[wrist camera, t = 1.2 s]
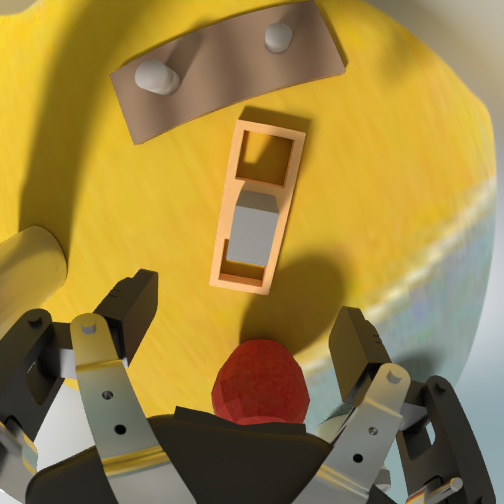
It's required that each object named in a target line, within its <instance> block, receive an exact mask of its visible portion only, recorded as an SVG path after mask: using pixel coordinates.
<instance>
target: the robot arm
mask: <svg viewBox="0 0 504 504" xmlns="http://www.w3.org/2000/svg"><path fill="white" fill-rule="evenodd" d="M66 276H67V266H66V260H65V257H64V254H63V251H62V249H61V247H60V245H59V243H58V242H57V240H56V239H55V238H54V236H53V235H52V234H51V233H50V232H49V231H47V230H46V229H44V228H43V227H40V226H31V227H28V228H26V229H25V230H23V231H21V232H19V233H18V234H16V235H14V236H12V237H10V238H9V239H7V240H5V241H4V242H2V243H1V244H0V491H2V492H6V493H7V494H9V495H10V496H12V497H13V498H15V499H16V500H18V501H19V502H21V503H23V504H397V503H395V502H394V501H393V500H392V499H391V498H390V497H388V496H387V495H386V494H385V493H384V492H383V491H381V490H380V489H379V488H378V487H377V486H376V485H375V484H373V483H374V481H375V479H376V477H377V475H378V473H379V471H380V469H381V467H382V465H383V463H384V461H385V459H386V457H387V454H388V452H389V450H390V448H391V445H392V443H393V441H394V439H395V437H396V441H397V445H398V449H399V454H400V458H401V462H402V467H403V471H404V476H405V481H406V486H407V492H408V499H407V500H406V503H405V504H496V498H495V494H494V490H493V487H492V484H491V481H490V477H489V474H488V471H487V468H486V465H485V462H484V460H483V457H482V454H481V451H480V449H479V446H478V444H477V441H476V439H475V436H474V434H473V431H472V429H471V426H470V424H469V422H468V419H467V417H466V415H465V413H464V411H463V408H462V406H461V404H460V402H459V400H458V398H457V396H456V393H455V392H454V389H453V387H452V386H451V384H450V383H449V382H448V381H447V380H446V379H445V378H443V377H441V376H436V375H434V376H431V377H429V378H428V380H427V381H426V382H425V384H423V383H419V382H416V381H412V380H410V376H409V374H408V373H407V371H406V370H405V369H404V368H402V367H401V366H399V365H397V364H393V363H392V362H391V360H390V358H389V355H388V353H387V351H386V349H385V347H384V345H383V344H382V341H381V339H380V337H379V334H378V332H377V330H376V328H375V327H374V326H373V325H372V324H371V323H370V322H369V321H368V320H365V318H364V316H363V314H362V312H361V310H360V309H359V308H353V307H346V306H343V307H342V308H341V310H340V312H339V314H338V317H337V319H336V321H335V324H334V326H333V328H332V331H331V333H330V336H329V349H330V353H331V357H332V361H333V365H334V369H335V373H336V377H337V381H338V385H339V389H340V393H341V397H342V401H343V403H353V404H354V407H353V408H352V410H351V411H350V412H349V414H348V416H347V417H346V419H345V420H344V422H343V423H342V425H341V426H340V428H339V429H338V431H337V432H336V434H335V435H334V436H333V438H332V439H331V441H330V442H329V443H328V442H327V441H325V440H323V439H322V438H320V437H317V436H315V435H312V434H310V433H306V425H305V424H301V423H284V422H269V423H260V424H249V425H240V424H237V423H234V422H231V421H228V420H226V419H223V418H221V417H218V416H215V415H213V414H210V413H208V412H202V411H197V410H192V409H188V408H183V407H179V406H176V409H175V412H174V414H166V415H157V416H152V417H149V418H146V417H145V415H144V413H143V410H142V408H141V406H140V404H139V402H138V399H137V397H136V395H135V392H134V390H133V388H132V385H131V383H130V380H129V378H128V375H127V373H126V370H125V368H124V367H127V368H128V367H129V365H130V363H131V361H132V359H133V357H134V355H135V353H136V351H137V349H138V347H139V345H140V343H141V341H142V339H143V337H144V335H145V334H146V332H147V330H148V328H149V326H150V324H151V322H152V320H153V318H154V316H155V314H156V311H157V305H158V273H157V272H155V271H150V270H145V269H140V270H139V271H138V272H137V273H136V274H135V276H134V277H133V278H129V277H127V278H125V279H123V280H121V281H119V282H118V283H117V284H116V285H115V286H114V287H113V289H112V290H111V291H110V292H109V293H108V295H107V296H106V297H105V298H104V299H103V300H102V302H101V303H100V304H99V305H98V307H97V308H96V309H95V310H94V311H93V313H85V314H81V315H79V316H77V317H75V318H74V319H73V320H72V322H71V323H60V322H53V321H52V318H51V315H50V313H49V312H48V311H46V310H44V309H40V308H39V307H40V306H41V305H42V304H43V303H44V302H46V301H47V300H48V299H49V298H50V297H51V296H52V295H53V294H54V293H55V292H56V291H57V290H58V289H59V288H60V287H61V286H62V285H63V284H64V282H65V279H66ZM33 363H34V364H33ZM32 364H33V365H32ZM31 366H32V367H31ZM30 367H31V368H30ZM29 369H30V370H29ZM28 370H29V371H28ZM27 372H28V373H27ZM65 378H71V379H77V381H78V385H79V389H80V394H81V398H82V401H83V405H84V409H85V413H86V416H87V420H88V423H89V426H90V429H91V432H92V436H93V439H94V441H95V445H94V446H92V447H90V448H88V449H86V450H84V451H82V452H80V453H78V454H76V455H74V456H71V457H69V458H67V459H65V460H63V461H60V462H58V463H56V464H54V465H52V466H49V467H47V468H44V469H42V470H41V471H39V472H38V473H37V470H36V467H37V460H38V453H37V449H36V447H35V445H34V444H33V442H34V440H35V438H36V436H37V433H38V431H39V429H40V427H41V425H42V423H43V421H44V418H45V416H46V414H47V412H48V410H49V408H50V406H51V404H52V403H53V401H54V399H55V397H56V395H57V393H58V391H59V389H60V387H61V385H62V384H63V382H64V380H65ZM430 422H431V423H432V426H433V429H434V432H435V441H434V443H433V445H431V442H430V439H429V436H428V433H427V430H426V426H427V424H428V423H430Z"/></svg>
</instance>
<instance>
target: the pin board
mask: <svg viewBox="0 0 504 504" xmlns="http://www.w3.org/2000/svg"><path fill="white" fill-rule="evenodd" d="M345 72H346V70H345V68H344V65H343V63H342V60H341V58H340V55H339V53H338V51H337V48H336V46H335V44H334V41H333V39H332V37H331V35H330V32H329V30H328V28H327V26H326V24H325V22H324V20H323V18H322V16H321V14H320V12H319V10H318V8H317V6H316V4H315V2H314V0H310V1H303V2H297V3H292V4H286V5H281V6H277V7H272V8H268V9H264V10H260V11H256V12H252V13H248V14H245V15H241V16H238V17H235V18H231V19H228V20H225V21H222V22H219V23H216V24H213V25H211V26H208V27H205V28H203V29H200V30H197V31H195V32H192V33H190V34H187V35H185V36H183V37H180V38H178V39H176V40H173V41H171V42H169V43H167V44H165V45H163V46H161V47H158V48H156V49H154V50H152V51H150V52H148V53H147V54H145V55H143V56H141V57H139V58H137V59H135V60H133V61H132V62H130V63H128V64H126V65H125V66H123V67H121V68H119V69H118V70H116V71H114V72H113V73H111V74H110V76H111V80H112V83H113V86H114V89H115V92H116V95H117V98H118V101H119V104H120V107H121V110H122V113H123V116H124V118H125V121H126V124H127V127H128V130H129V132H130V135H131V138H132V140H133V143H134V145H139V144H142V143H144V142H146V141H148V140H150V139H152V138H154V137H156V136H158V135H161V134H163V133H165V132H167V131H169V130H171V129H173V128H176V127H178V126H180V125H183V124H185V123H187V122H189V121H192V120H194V119H197V118H199V117H202V116H204V115H207V114H209V113H212V112H214V111H217V110H219V109H222V108H225V107H228V106H230V105H233V104H236V103H239V102H242V101H245V100H248V99H251V98H254V97H257V96H260V95H263V94H266V93H270V92H273V91H277V90H280V89H284V88H287V87H291V86H295V85H298V84H302V83H306V82H311V81H315V80H319V79H324V78H328V77H333V76H338V75H342V74H343V73H345Z"/></svg>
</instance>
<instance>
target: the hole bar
mask: <svg viewBox="0 0 504 504" xmlns="http://www.w3.org/2000/svg"><path fill="white" fill-rule="evenodd" d="M245 130H246V131H252V132H257V133H263V134H268V135H273V136H278V137H283V138H287V139H292V140H293V142H292V147H291V152H290V157H289V161H288V166H287V171H286V175H285V180H284V185H283V186H282V185H277V184H272V183H267V182H262V181H257V180H251V179H246V178H241V177H236V175H237V169H238V164H239V158H240V153H241V148H242V142H243V137H244V132H245ZM305 136H306V133H303V132H299V131H294V130H290V129H285V128H281V127H276V126H271V125H266V124H260V123H255V122H249V121H243V120H237V119H236V123H235V129H234V134H233V139H232V145H231V150H230V156H229V161H228V167H227V173H226V178H225V184H224V190H223V196H222V202H221V209H220V215H219V221H218V228H217V234H216V241H215V248H214V255H213V262H212V269H211V277H210V284H209V285H212V286H217V287H223V288H228V289H234V290H239V291H245V292H251V293H256V294H262V295H268V294H269V290H270V286H271V282H272V278H273V274H274V270H275V266H276V262H277V258H278V254H279V250H280V246H281V242H282V237H283V233H284V229H285V225H286V221H287V216H288V212H289V208H290V203H291V199H292V195H293V190H294V186H295V182H296V177H297V173H298V168H299V164H300V159H301V154H302V150H303V145H304V140H305ZM225 239H229V244H228V250H227V257H226V259H228V260H233V261H239V262H244V263H250V264H255V265H261V266H265V269H264V273H263V278H262V280H258V279H252V278H247V277H241V276H236V275H230V274H225V273H220V270H221V264H222V257H223V251H224V245H225Z"/></svg>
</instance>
